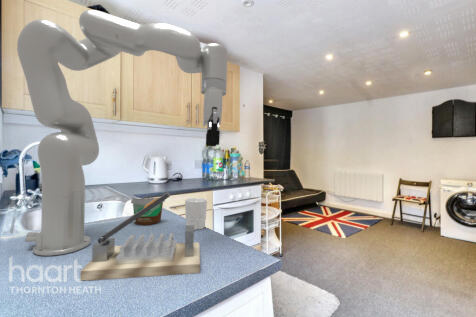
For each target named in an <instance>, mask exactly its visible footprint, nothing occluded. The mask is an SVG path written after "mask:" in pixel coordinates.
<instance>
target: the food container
mask: <svg viewBox="0 0 476 317" xmlns="http://www.w3.org/2000/svg"><path fill="white" fill-rule="evenodd" d="M155 198H156V197H142V198H137V197H134V196H132V198H131V200H130V203H131V204H132V208H133V215H134V214H136V213H137V212H139V211H140V210H142V209H143V208H144V206H145V205H146V204H148V203H149V202H151V201H152V200H154V199H155ZM165 201H166V199H165V200H164V201H162V202H161V203H159V204H158V205H157V206H155V207H154V208H152V209H151V210H149V211H148V212H146V213H145V214H143V215H142V216H140V217H139V218H137V219H136V220H134V221H133V222H134V224H135V225H137V226H153V224H154V225H157V224H160V223H161V220H162V213H163V207H164V206H163V205H164V202H165Z"/></svg>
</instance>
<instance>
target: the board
mask: <svg viewBox="0 0 476 317" xmlns="http://www.w3.org/2000/svg"><path fill="white" fill-rule="evenodd" d="M121 247H122V245H115V252H114V253H113V255H112V256H111V257H110V258H109V259H108V260H107V261H103V262H92V259H91V260H90V261H89V262H88V263H87V264H86V265H85V266H84V267H83V268H82V269H81V270H80V279H79V280H86V281H96V280H97V281H99V280H100V281H101V280H114V279H116V280H117V279H129V278H143V277H144V278H145V277H156V276H157V277H158V276H160V277H161V276H173V275H188V274H189V275H190V274H199V273H200V272H201V271H200V270H201V259H200V258H201V256H200V254H201V253H200V252H201V251H200V242H198V241H196V242H194V249H193V257H185V242H176V250H175V254H174V259H173V261H172V262H155V263H137V264H120V265H116V257H117V256H118V254H119V253H120V248H121Z"/></svg>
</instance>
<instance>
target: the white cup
mask: <svg viewBox="0 0 476 317" xmlns="http://www.w3.org/2000/svg"><path fill="white" fill-rule="evenodd" d="M184 201H185V202H184V204H185V208H184V209H185V210H184V211H185V213H184V214H185V222H186V223H185V224H186V225H194V231H198V230H197V229H199V230H203V229H204V228H206V219H207V210H208V209H207V207H208V199H206V198H205V197H204V198H202V197H191V198H186V199H185V200H184ZM186 225H185V226H186Z"/></svg>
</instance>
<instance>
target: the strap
mask: <svg viewBox="0 0 476 317" xmlns="http://www.w3.org/2000/svg"><path fill="white" fill-rule="evenodd" d="M170 196H171V193H170V192H169V191H167V192H166V193H164V194H163V195H161V196H160V197H154V198H155V199H154V200H152V201H151V202H149V203H148V204H146V205H145V206H144V208H143V209H142V210H140V211H139V212H137V213H136V214H134V213H133V214H132V215H131V216H130V217H128V218H127V219H125V220H123V221H122V222H121V223H119V224H118V225H117V226H115V227H113V228H112V229H110V230H108V231H107V232H105V233H104V234H102V235H101V236H100V237H99V238H98V239H97V242H98V243H103V242H104V241H105V240H106V239H108V238H112V236H113V235H116V233H118V232H119V231H120V230H123V229H125V227H127V226H128V225H130V224H131V223H133V222H135V221H134V220H136V219H137V218H139V217H140V216H142V215H143V214H145V213H146V212H148V211H149V210H151V209H152V208H154V207H155V206H157V205H158V204H159V203H161V202H162V201H164V200H165V201H166V200H167V199H168V198H170ZM165 201H164V202H165Z"/></svg>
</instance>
